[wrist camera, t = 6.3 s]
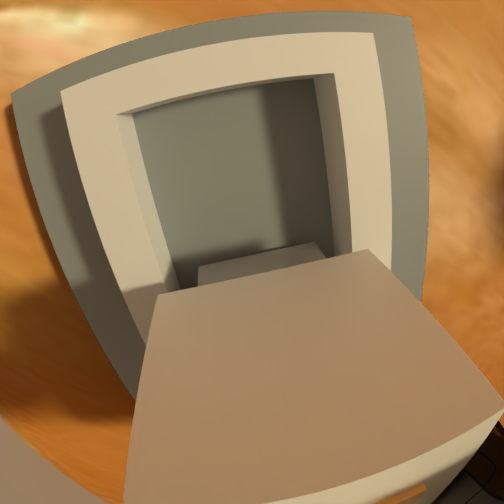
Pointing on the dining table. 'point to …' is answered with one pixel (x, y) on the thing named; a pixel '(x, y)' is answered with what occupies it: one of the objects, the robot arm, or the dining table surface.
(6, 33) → the dining table surface
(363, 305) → the block
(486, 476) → the robot arm
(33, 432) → the dining table surface
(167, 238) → the rail panel
